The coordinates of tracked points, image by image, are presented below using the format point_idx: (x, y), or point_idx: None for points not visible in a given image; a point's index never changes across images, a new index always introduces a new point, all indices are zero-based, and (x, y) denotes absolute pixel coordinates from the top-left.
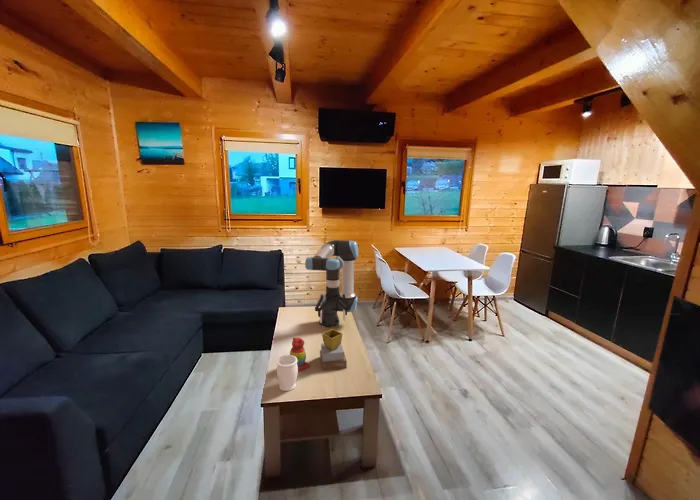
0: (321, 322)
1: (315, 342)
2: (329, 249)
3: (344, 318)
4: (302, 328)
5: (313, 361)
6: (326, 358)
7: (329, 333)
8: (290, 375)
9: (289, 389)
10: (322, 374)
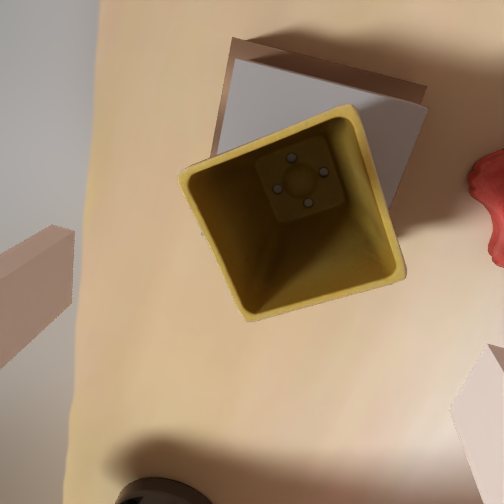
0: (495, 348)
1: (313, 393)
2: None
3: (30, 249)
4: None
5: (418, 213)
6: (388, 96)
7: (296, 285)
8: None
9: None
10: (438, 29)
